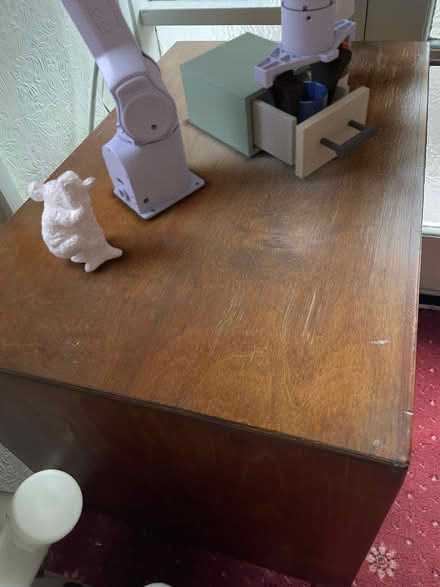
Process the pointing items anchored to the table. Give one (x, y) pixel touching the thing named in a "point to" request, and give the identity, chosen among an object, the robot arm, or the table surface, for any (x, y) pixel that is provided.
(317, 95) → the cup
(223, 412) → the table surface
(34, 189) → the koala figurine
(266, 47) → the mint green cabinet
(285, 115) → the drawer
